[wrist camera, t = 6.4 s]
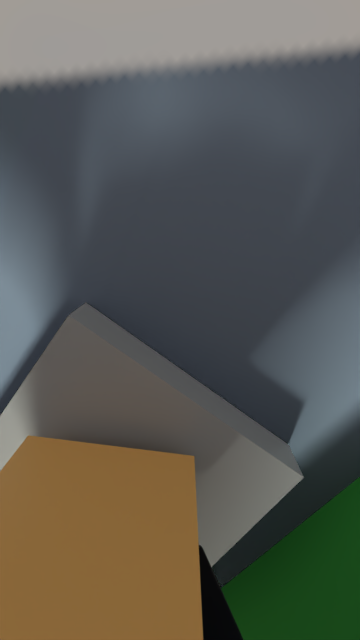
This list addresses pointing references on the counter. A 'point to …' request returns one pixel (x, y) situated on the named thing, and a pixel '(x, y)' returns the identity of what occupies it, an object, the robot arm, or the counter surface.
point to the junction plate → (151, 422)
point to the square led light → (98, 544)
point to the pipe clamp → (305, 579)
